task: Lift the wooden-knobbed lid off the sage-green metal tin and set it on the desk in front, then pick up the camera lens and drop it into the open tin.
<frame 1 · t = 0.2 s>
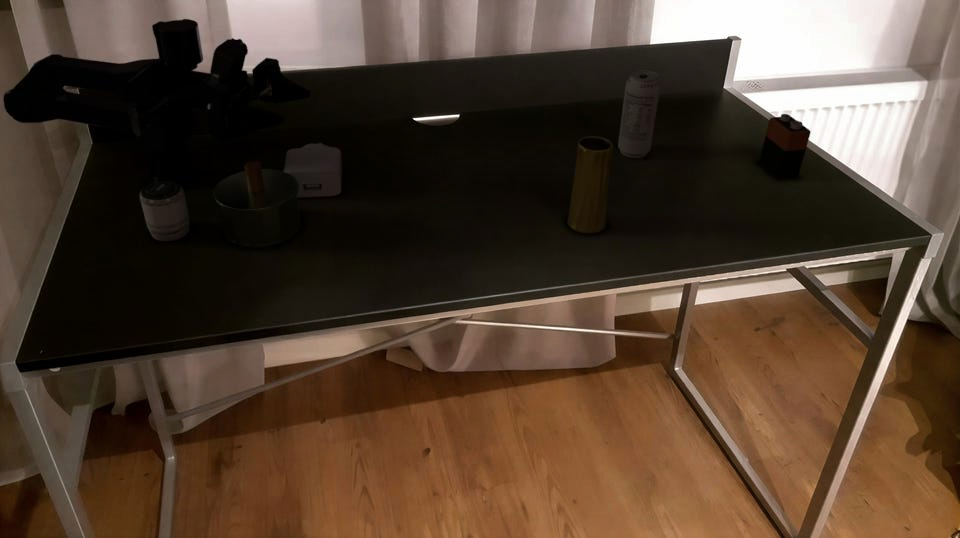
hand: (297, 106, 122), 17 cm above the table, tool horizontal, fingers open, 9 cm apart
battery: (777, 171, 144), on the table
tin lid: (256, 191, 121), point 6 cm above the table, touching tin
camera lens: (171, 232, 124), on the table
vase: (586, 225, 128), on the table
tin: (262, 227, 125), on the table
charger: (315, 176, 139), on the table
energy drink can: (633, 152, 149), on the table
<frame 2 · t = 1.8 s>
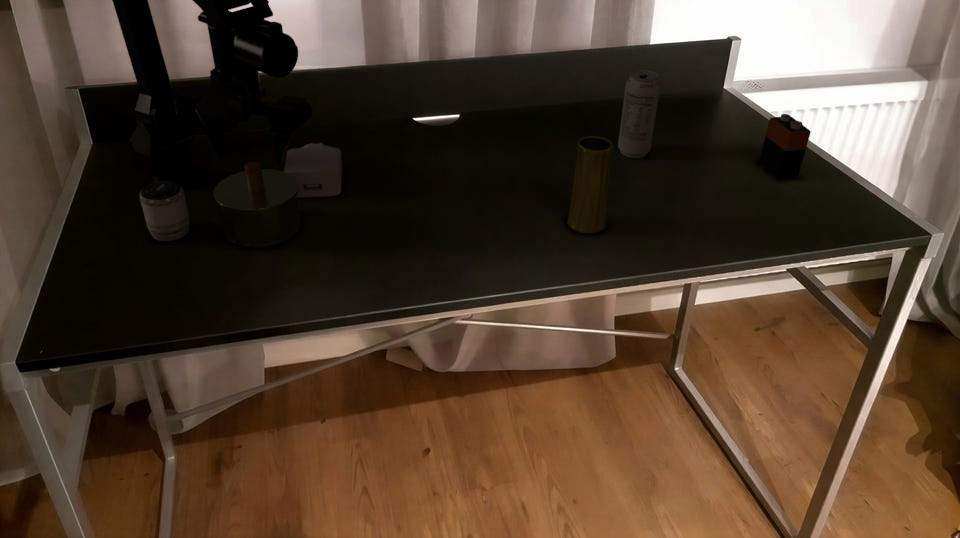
hand: (251, 160, 118), 12 cm above the table, tool pointing down, fingers open, 9 cm apart
nothing on the table moved.
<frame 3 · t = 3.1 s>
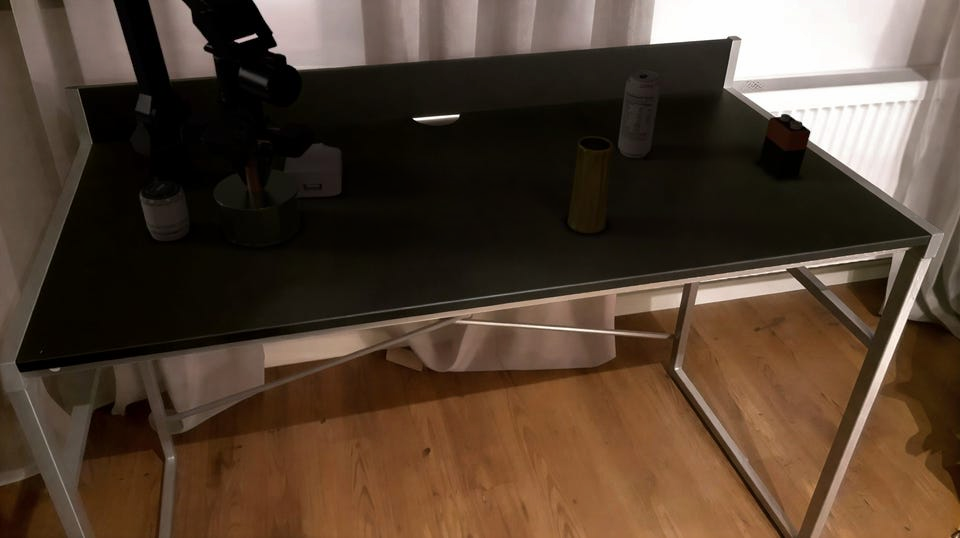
hand: (255, 185, 121), 8 cm above the table, tool pointing down, fingers closed on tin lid, 2 cm apart
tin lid: (256, 191, 121), point 7 cm above the table, touching gripper, tin
everything else where it was.
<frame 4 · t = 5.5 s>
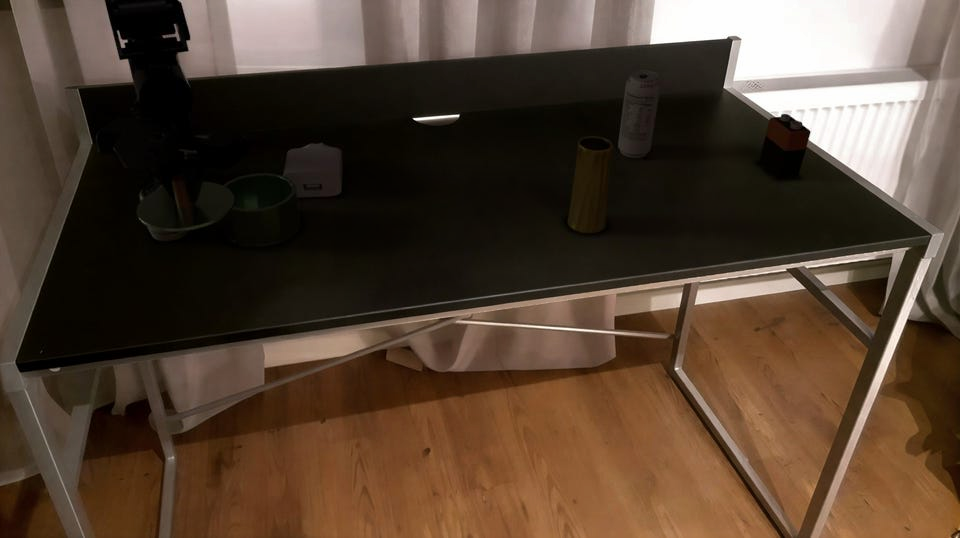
hand: (185, 200, 107), 12 cm above the table, tool pointing down, fingers closed on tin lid, 2 cm apart
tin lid: (186, 206, 108), point 11 cm above the table, touching gripper
everything else where it was.
when the fingers open (2 cm above the table, at t = 8.2 s): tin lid stays where it is, point 1 cm above the table.
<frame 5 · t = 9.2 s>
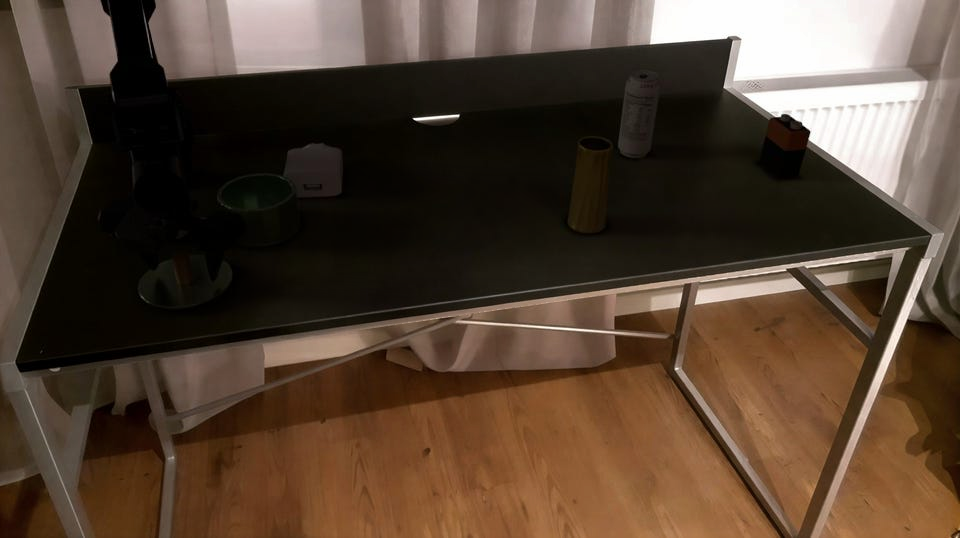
hand: (184, 274, 111), 2 cm above the table, tool pointing down, fingers open, 9 cm apart
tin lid: (186, 282, 112), point 1 cm above the table
everything else where it was.
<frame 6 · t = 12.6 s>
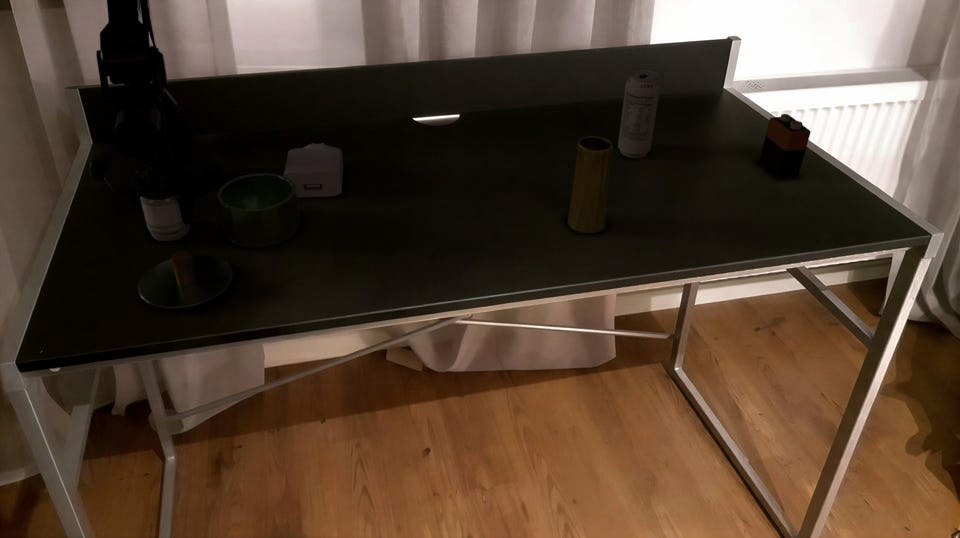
hand: (168, 220, 122), 2 cm above the table, tool pointing down, fingers closed on camera lens, 6 cm apart
camera lens: (171, 232, 124), on the table, touching gripper
everything else where it was.
when the fingers open (6 cm above the table, at t = 18.1 s): camera lens drops 3 cm, resting on tin.
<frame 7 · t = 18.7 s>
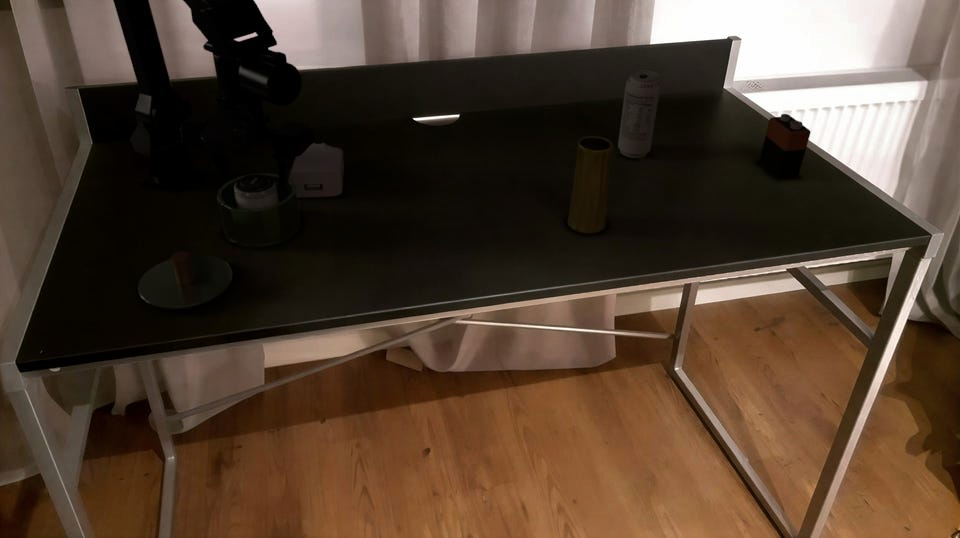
hand: (255, 184, 120), 8 cm above the table, tool pointing down, fingers open, 9 cm apart
camera lens: (261, 225, 125), resting on tin
everything else where it was.
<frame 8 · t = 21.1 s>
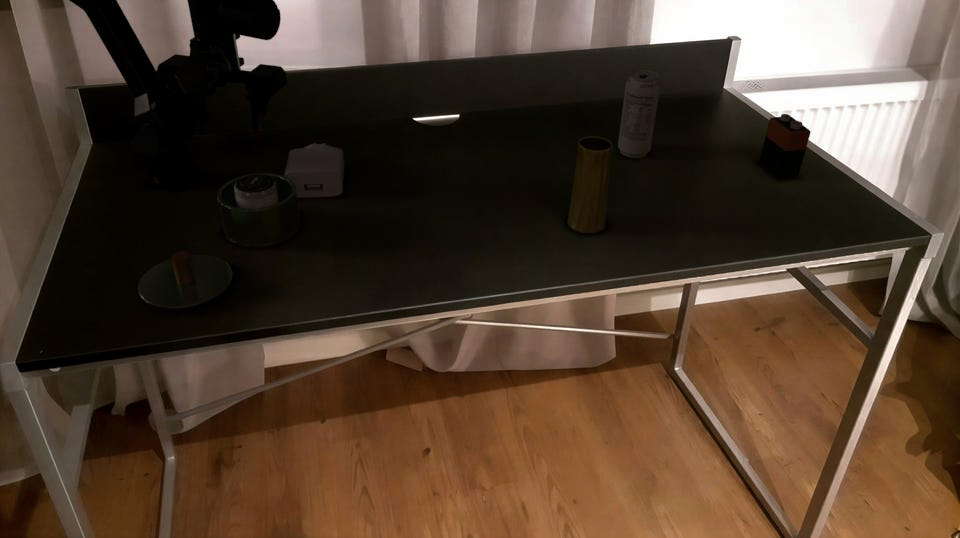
hand: (230, 127, 124), 13 cm above the table, tool pointing down, fingers open, 9 cm apart
nothing on the table moved.
at the end: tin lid inside the target area (0.0 cm from its centre), point 0.6 cm above the table; camera lens inside the target area in the tin (0.1 cm from its centre), point 0.3 cm above the tin's base; the gripper is holding nothing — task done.
